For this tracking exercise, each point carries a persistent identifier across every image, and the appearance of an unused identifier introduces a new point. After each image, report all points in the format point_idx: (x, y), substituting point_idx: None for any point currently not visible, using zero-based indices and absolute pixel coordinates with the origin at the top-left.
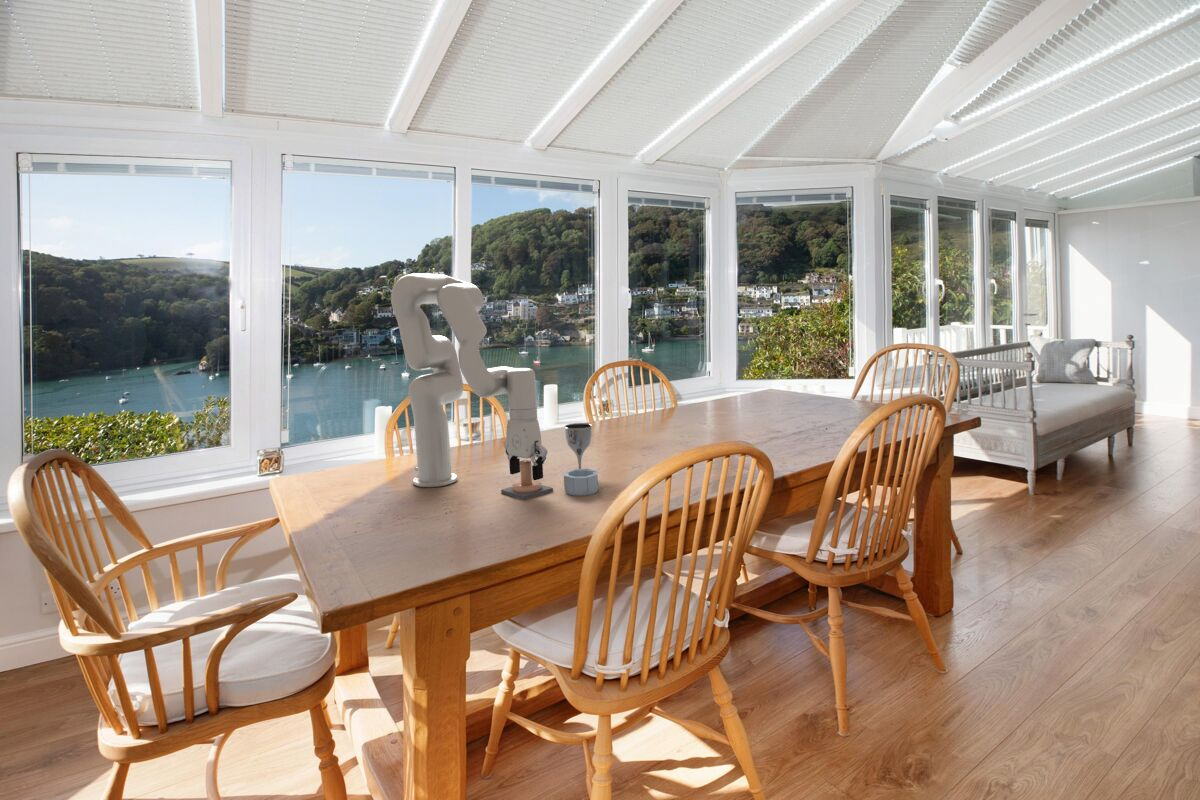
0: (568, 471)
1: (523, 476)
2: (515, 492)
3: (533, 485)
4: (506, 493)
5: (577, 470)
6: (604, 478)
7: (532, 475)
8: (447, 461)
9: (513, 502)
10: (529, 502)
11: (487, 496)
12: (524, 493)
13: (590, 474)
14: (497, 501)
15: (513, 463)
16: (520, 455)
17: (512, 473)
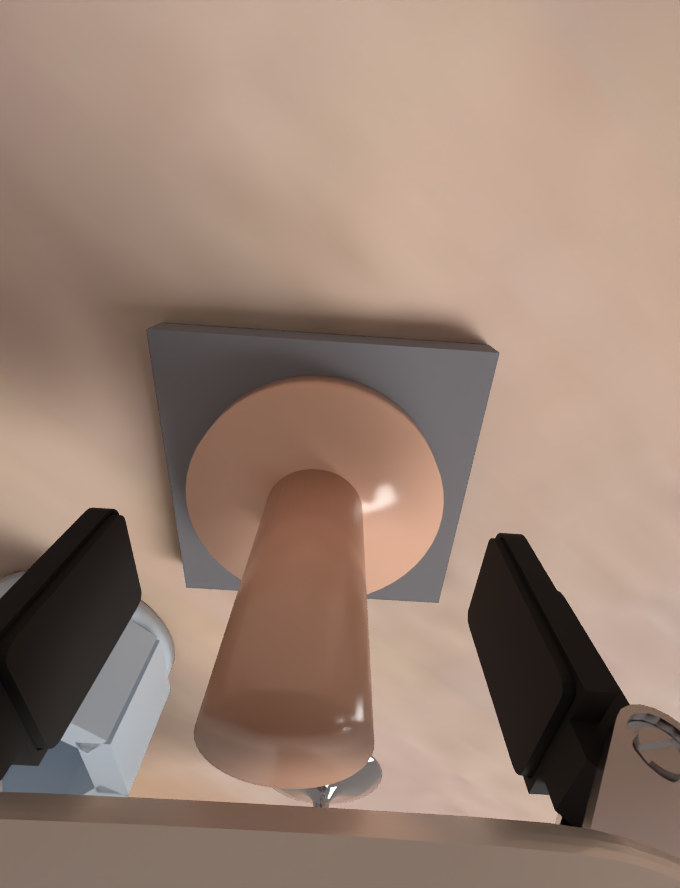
0: (103, 759)
1: (287, 528)
2: (311, 366)
3: (243, 519)
4: (415, 343)
5: (90, 789)
6: (194, 784)
7: (95, 542)
8: None
9: (173, 206)
10: (73, 301)
11: (549, 185)
12: (222, 391)
13: (30, 777)
14: (327, 119)
15: (532, 667)
16: (52, 873)
17: (491, 545)
